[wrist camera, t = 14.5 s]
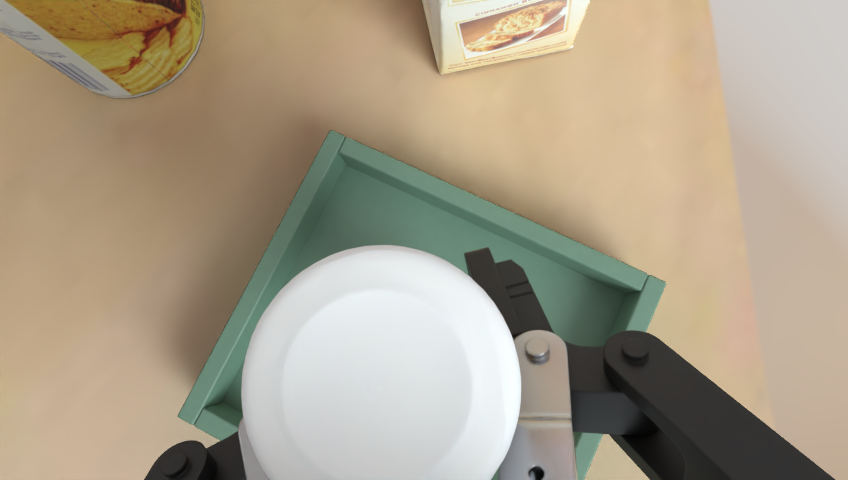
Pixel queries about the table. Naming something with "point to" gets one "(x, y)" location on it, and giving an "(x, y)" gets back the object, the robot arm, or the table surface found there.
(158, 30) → the canned food
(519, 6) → the coffeecake box
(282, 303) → the spice jar
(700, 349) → the table surface
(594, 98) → the table surface
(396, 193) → the tray
